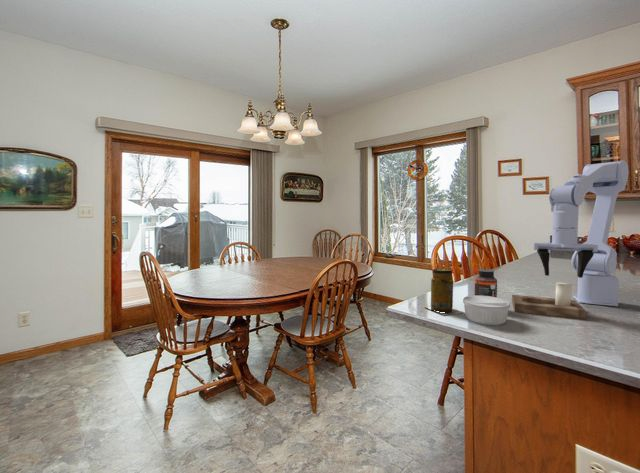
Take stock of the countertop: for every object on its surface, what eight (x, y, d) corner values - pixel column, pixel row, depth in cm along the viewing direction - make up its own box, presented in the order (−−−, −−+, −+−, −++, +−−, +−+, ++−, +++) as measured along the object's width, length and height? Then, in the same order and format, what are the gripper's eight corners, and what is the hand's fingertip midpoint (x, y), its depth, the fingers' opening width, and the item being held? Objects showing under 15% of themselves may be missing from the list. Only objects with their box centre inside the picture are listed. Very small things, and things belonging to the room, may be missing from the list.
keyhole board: (574, 308, 96) (574, 300, 96) (584, 319, 86) (585, 310, 86) (511, 302, 103) (511, 294, 103) (514, 311, 93) (514, 303, 93)
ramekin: (488, 329, 79) (489, 308, 79) (453, 316, 90) (453, 297, 89) (519, 323, 84) (520, 303, 84) (482, 311, 94) (483, 293, 94)
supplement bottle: (499, 311, 94) (500, 272, 93) (477, 310, 95) (478, 271, 94) (492, 305, 100) (493, 268, 99) (471, 304, 101) (472, 268, 100)
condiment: (443, 305, 100) (443, 266, 100) (464, 313, 93) (464, 271, 92) (423, 308, 98) (424, 268, 97) (443, 316, 90) (443, 273, 89)
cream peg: (569, 310, 94) (570, 283, 93) (571, 314, 90) (573, 285, 90) (553, 309, 95) (555, 282, 95) (555, 312, 92) (557, 284, 92)
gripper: (536, 228, 91) (534, 276, 92) (602, 229, 85) (600, 280, 86) (532, 227, 98) (531, 272, 99) (594, 228, 91) (591, 276, 92)
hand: (562, 276), depth 93 cm, fingers open, 7 cm apart
